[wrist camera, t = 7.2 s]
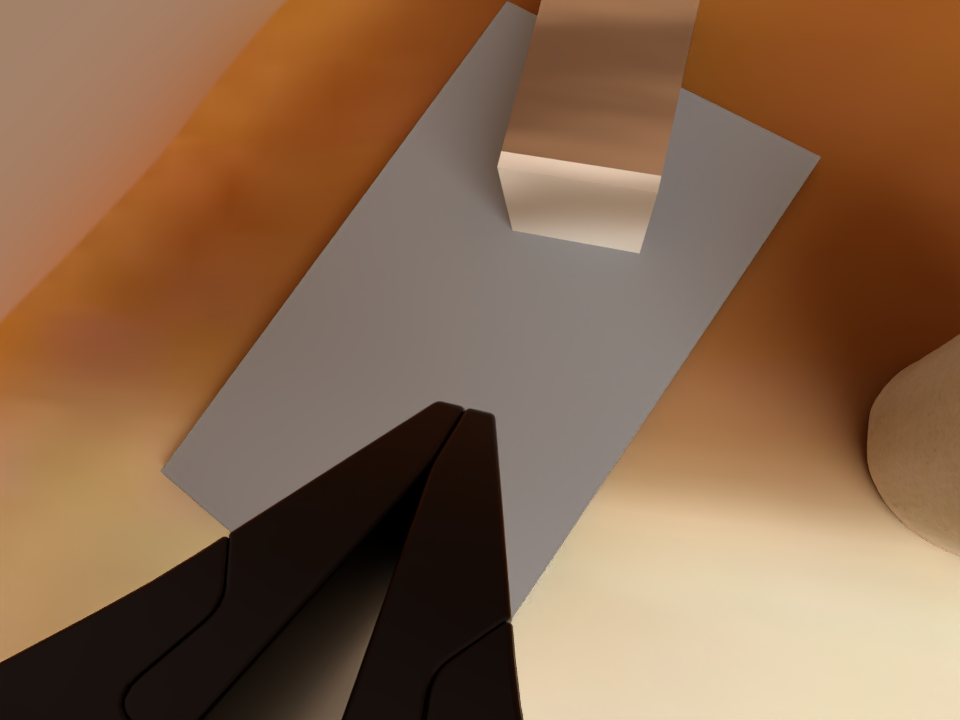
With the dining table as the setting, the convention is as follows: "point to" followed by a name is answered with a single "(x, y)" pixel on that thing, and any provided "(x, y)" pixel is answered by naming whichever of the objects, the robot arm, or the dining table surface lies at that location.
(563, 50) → the walnut block
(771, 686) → the dining table surface
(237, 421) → the rubber mat
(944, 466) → the flower pot
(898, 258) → the dining table surface
